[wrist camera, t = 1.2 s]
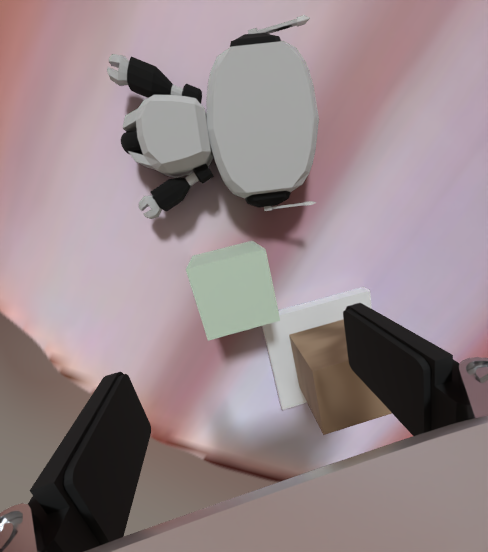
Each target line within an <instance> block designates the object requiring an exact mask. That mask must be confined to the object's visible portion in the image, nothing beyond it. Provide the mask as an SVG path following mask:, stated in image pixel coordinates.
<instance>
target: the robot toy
mask: <svg viewBox="0 0 488 552" xmlns="http://www.w3.org/2000/svg"><path fill="white" fill-rule="evenodd" d="M309 19H310V18H309V17H307V16H305V15H303V16H300V17H297V19H294V20H291V21H288V22H284V23H281V24H278V25H275V26H271V27H268V28H265V29H261V30H258V31H257V28H255V29H251V30H248V34H245V35H243V36H241V37H239V38H238V39H236V40H233V41H231V45H230V48H229V49H227V50H226V51H224V52H223V53H222V54H220V55H219V56H217V58H216V60H215V63H214V65H213V67H212V70H211V72H210V76H209V81H208V89H207V99H206V106H207V116H206V112H205V108H204V107H203V106H202V105H201V99H202V91H201V90H200V89H198V88H196V87H193V86H191V85H188V84H186V85H185V86H184V88H183V89H182V88H180V87H177V86H175V85H173V84H172V83H171V82H170V81H169V79H168V78H167V77H166V76H165V75H164V74H163V73H162V72H161V71H160V70H159V69H158V68H157V67H155V66H153V65H151V64H148V63H146V62H143V61H141V60H138V59H136V58H133V57H131V58H130V61H129V60H128V59H127V58H126V57H125V56H122V55H115V54H112V55H111V56H110V57H109V63H110V64H111V66H115V67H117V68H119V70H118V71H116V70H114V69H111V68H109V67H108V69H107V72H108V74H109V77H110V79H111V80H112V81H113V82H115V83H116V84H118V85H119V86H124V85H129V87H130V89H131V91H133V92H135V93H137V94H140V95H143V96H145V97H148V98H147V99H145V100H143V102H142V103H141V105H140V107H139V108H138V109H136V110H134V111H132V112H131V113H129V114H127V115H126V116H125V119H124V124H123V129H124V130H125V131H126V133H124V134H123V135H122V137H121V144H122V147H123V149H124V150H125V151H126V152H127V153H128V154H130V155H131V156H132V157H133V159H134V160H135V162H137V163H139V164H141V165H143V166H145V167H147V168H150V169H154V170H157V171H159V172H161V173H162V174H164V175H166V176H170V177H175V179H169V180H167V181H166V182H164V183H163V184H161V185H160V186H159V187H157V188H156V189H154V190H153V191H151V194H152V195H153V196H144V197H143V198H142V200H141V201H140V202H139V209H140V210H141V211H143V210H144V209H145V208H147V207H148V206H150V208H151V210H150V211H148V212H146V213H144V215H145V217H147V218H149V219H153V218H156V217H159V215H160V213H161V211H162V209H163V210H165V211H168V210H169V209H171V208H172V207H174V206H175V205H177V204H178V203H180V202H181V201H183V200H184V198H185V196H186V194H187V193H188V191H189V189H190V187H191V186H192V185H193V184H195V183H196V182H198V181H200V182H202V183H204V182H206V181H207V180H209V179H210V178H212V177H213V174H212V173H211V171H210V169H209V168H208V167H209V165H210V163H211V161H212V159H213V156H214V159H215V163H216V166H217V168H218V171H219V173H220V176H221V178H222V180H223V182H224V184H225V185H226V186H227V187H228V189H229V190H230V191H231V192H232V193H233V194H234V195H237V196H239V197H242V198H245V200H246V202H247V204H250V205H253V206H256V207H264V211H270V210H272V209H277V208H285V207H294V206H302V205H305V206H306V205H312V204H314V203H316V202H312V201H310V202H305V203H298V204H290V205H282V206H274V205H278V204H280V203H282V202H283V201H285V200H287V199H288V198H289V196H290V193H291V192H292V191H293V190H295V189H296V188H298V187H299V186H301V185H302V184H303V183H304V181H305V179H306V177H307V176H308V174H309V172H310V169H311V166H312V163H313V158H314V154H315V149H316V140H317V131H318V121H319V117H318V111H317V105H316V99H315V93H314V87H313V83H312V80H311V76H310V72H309V69H308V67H307V64H306V62H305V60H304V59H303V57H302V56H301V54H300V53H299V51H298V50H297V48H295V47H293V46H291V45H290V44H288V43H286V42H284V41H281V40H280V37H279V36H275V35H270V34H269V33H273V32H276V31H280V30H283V29H286V28H290V27H293V26H296V25H297V26H301V25H304V24H305V23H306V22H307V21H308V20H309ZM212 152H213V155H212ZM185 175H189V176H187V177H186V178H177V177H181V176H185ZM272 206H274V207H272Z"/></svg>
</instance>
